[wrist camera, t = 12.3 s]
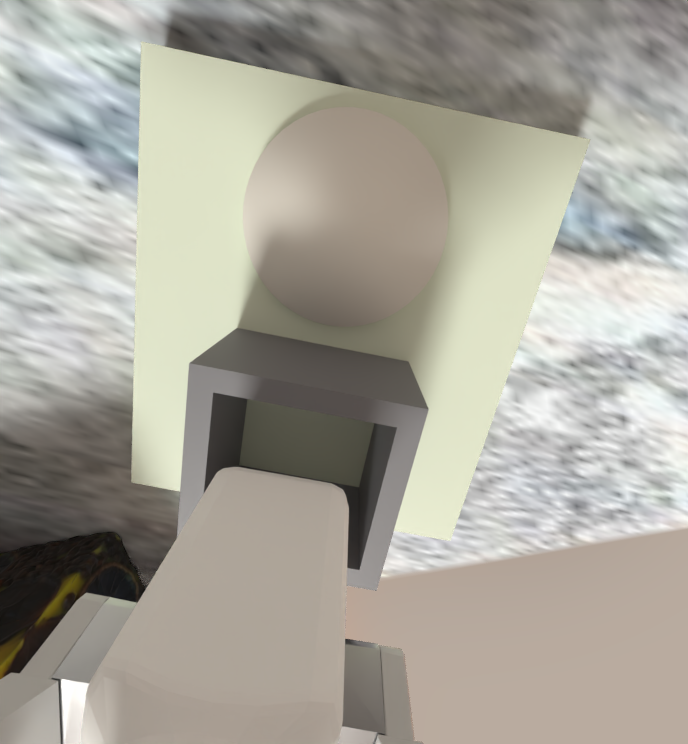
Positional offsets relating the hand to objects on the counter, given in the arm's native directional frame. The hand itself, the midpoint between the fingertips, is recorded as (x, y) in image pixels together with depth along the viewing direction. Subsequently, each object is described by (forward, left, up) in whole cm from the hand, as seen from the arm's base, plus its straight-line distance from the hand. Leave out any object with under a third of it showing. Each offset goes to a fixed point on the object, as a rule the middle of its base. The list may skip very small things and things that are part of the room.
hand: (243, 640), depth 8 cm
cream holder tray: (-4, 0, -12) cm, 12 cm away
